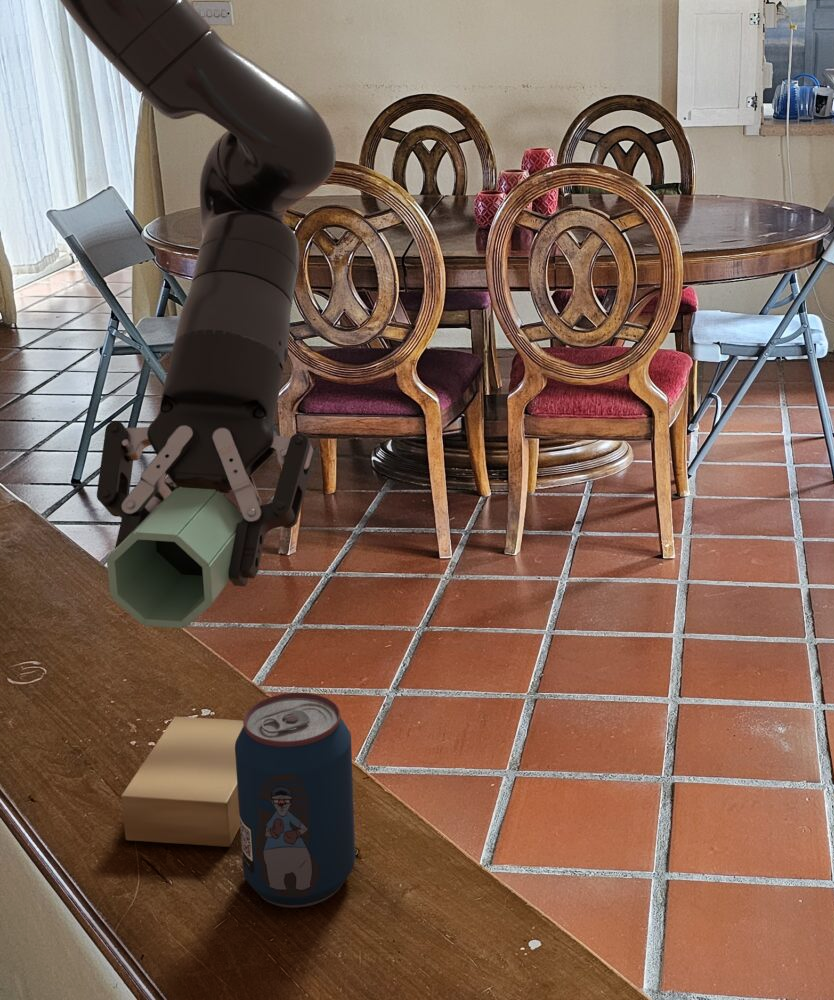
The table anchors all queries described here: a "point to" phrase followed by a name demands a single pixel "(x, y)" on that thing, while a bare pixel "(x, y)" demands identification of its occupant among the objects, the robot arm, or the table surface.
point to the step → (187, 786)
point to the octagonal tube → (175, 558)
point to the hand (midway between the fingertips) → (183, 578)
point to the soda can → (295, 799)
